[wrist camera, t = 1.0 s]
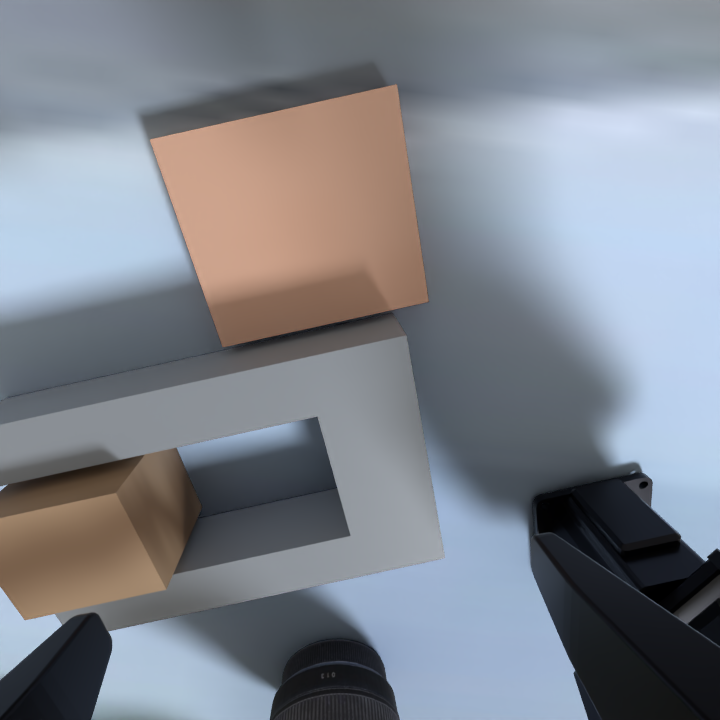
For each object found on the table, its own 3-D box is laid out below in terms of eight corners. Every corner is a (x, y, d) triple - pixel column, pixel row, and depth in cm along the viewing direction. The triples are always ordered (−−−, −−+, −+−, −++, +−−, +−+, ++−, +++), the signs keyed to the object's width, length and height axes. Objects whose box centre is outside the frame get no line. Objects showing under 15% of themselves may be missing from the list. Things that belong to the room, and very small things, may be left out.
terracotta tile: (423, 297, 18) (428, 301, 17) (228, 340, 18) (222, 347, 17) (392, 92, 15) (396, 84, 14) (160, 143, 15) (149, 139, 14)
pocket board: (427, 506, 22) (444, 558, 19) (110, 575, 22) (72, 639, 19) (392, 312, 18) (406, 335, 15) (5, 398, 18) (-66, 439, 15)
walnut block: (202, 506, 21) (166, 589, 16) (92, 530, 21) (24, 620, 16) (167, 425, 19) (115, 492, 15) (47, 451, 19) (-43, 527, 15)
